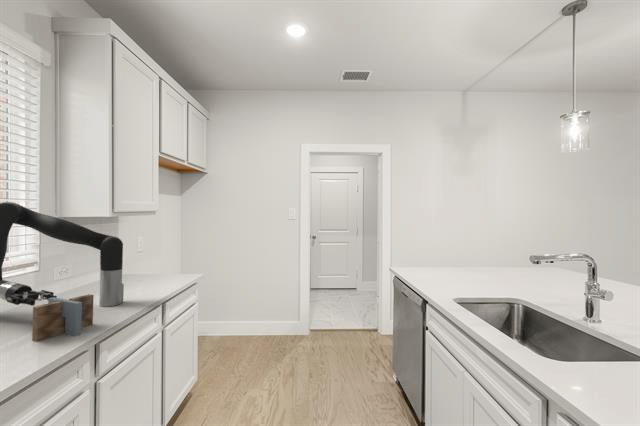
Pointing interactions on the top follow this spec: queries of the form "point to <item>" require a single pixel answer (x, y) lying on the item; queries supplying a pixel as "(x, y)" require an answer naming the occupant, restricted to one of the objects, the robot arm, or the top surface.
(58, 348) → the top surface
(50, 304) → the walnut board
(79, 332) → the slate plate
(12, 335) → the top surface
